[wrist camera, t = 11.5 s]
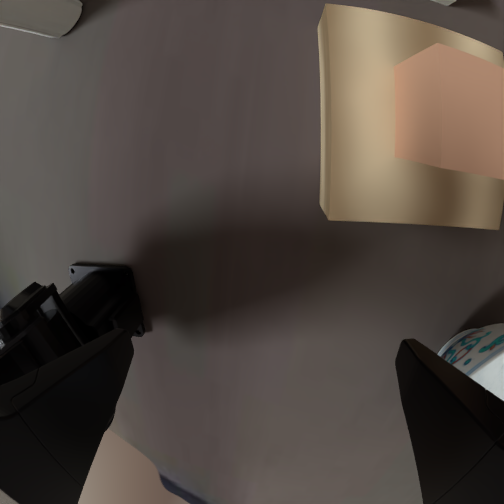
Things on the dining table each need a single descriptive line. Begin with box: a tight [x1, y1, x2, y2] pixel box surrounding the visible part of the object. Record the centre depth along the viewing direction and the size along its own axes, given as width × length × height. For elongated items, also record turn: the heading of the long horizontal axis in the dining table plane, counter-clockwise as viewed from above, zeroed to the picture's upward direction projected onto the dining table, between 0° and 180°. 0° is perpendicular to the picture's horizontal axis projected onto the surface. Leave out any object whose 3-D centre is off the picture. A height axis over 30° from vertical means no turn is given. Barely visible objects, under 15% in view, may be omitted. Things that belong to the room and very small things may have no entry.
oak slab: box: [318, 4, 504, 230], centre depth 14 cm, size 12×12×4 cm
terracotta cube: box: [394, 43, 504, 180], centre depth 10 cm, size 5×5×5 cm
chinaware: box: [437, 323, 504, 401], centre depth 19 cm, size 15×15×8 cm
